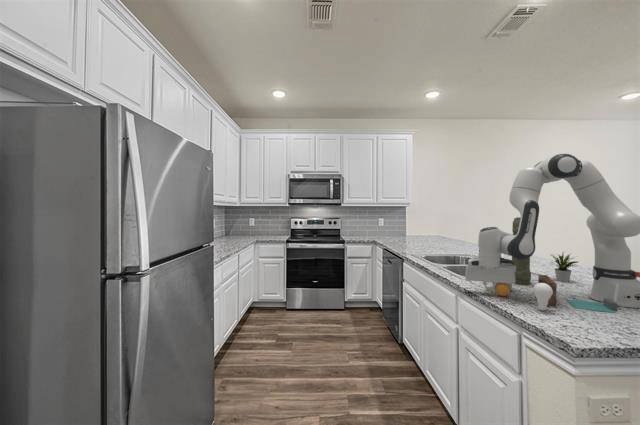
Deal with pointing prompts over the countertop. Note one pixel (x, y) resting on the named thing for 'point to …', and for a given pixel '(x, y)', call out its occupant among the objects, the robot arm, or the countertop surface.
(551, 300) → the bridge
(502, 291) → the ball
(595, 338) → the countertop surface
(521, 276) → the thermos
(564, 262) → the house plant
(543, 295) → the lightbulb
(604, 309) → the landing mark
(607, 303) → the stopper wall
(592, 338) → the countertop surface
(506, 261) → the coffee cup
